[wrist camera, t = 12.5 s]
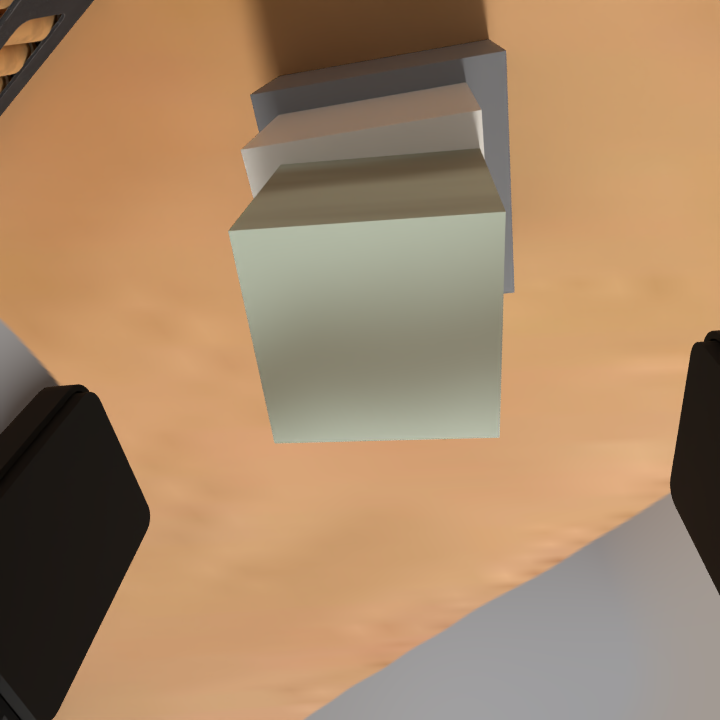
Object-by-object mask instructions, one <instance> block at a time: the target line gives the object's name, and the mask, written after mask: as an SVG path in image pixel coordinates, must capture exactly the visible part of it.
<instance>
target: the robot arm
mask: <svg viewBox="0 0 720 720" xmlns="http://www.w3.org/2000/svg"><path fill="white" fill-rule="evenodd" d="M670 489H671V495H672V499H673V501H674V504H675V506H676V509H677V511H678V513H679V514H680V517H681V519H682V520H683V523H684V525H685V526H686V529H687V531H688V533H689V535H690V536H691V539H692V541H693V543H694V545H695V547H696V548H697V550H698V553H699V555H700V557H701V559H702V561H703V563H704V564H705V566H706V569H707V571H708V573H709V575H710V577H711V579H712V581H713V583H714V585H715V587H716V589H717V591H718V593H719V595H720V330H718V331H711V332H709V333H708V334H707V335H706V337H705V339H704V342H696V343H695V344H694V345H693V347H692V350H691V355H690V361H689V367H688V374H687V380H686V386H685V392H684V398H683V404H682V411H681V417H680V423H679V429H678V435H677V441H676V448H675V454H674V460H673V466H672V472H671V479H670ZM149 522H150V511H149V507H148V504H147V502H146V500H145V498H144V496H143V493H142V491H141V489H140V487H139V485H138V482H137V480H136V478H135V476H134V474H133V471H132V469H131V467H130V465H129V463H128V460H127V458H126V456H125V454H124V452H123V449H122V447H121V445H120V443H119V441H118V438H117V436H116V434H115V432H114V430H113V427H112V425H111V423H110V421H109V419H108V416H107V414H106V412H105V410H104V408H103V406H102V403H101V401H100V399H99V398H98V396H97V395H96V394H95V393H92V392H89V390H88V389H87V388H86V387H84V386H83V385H79V384H78V385H66V386H54V387H47V388H44V389H43V390H41V391H40V392H39V393H38V394H37V395H36V396H35V397H34V398H33V400H32V401H31V402H30V403H29V404H28V405H27V406H26V407H25V408H24V409H23V411H21V413H20V414H19V415H18V416H17V417H16V418H15V419H14V420H13V421H12V422H11V423H10V425H9V426H8V427H7V428H6V429H5V430H4V431H3V432H2V433H1V434H0V720H52V719H53V718H54V717H55V715H56V714H57V712H58V710H59V708H60V706H61V704H62V702H63V700H64V698H65V696H66V694H67V692H68V690H69V688H70V686H71V684H72V682H73V680H74V678H75V676H76V674H77V672H78V670H79V668H80V666H81V664H82V662H83V660H84V658H85V656H86V653H87V651H88V649H89V647H90V645H91V643H92V641H93V639H94V637H95V635H96V633H97V631H98V629H99V627H100V625H101V623H102V621H103V619H104V617H105V615H106V613H107V611H108V609H109V607H110V605H111V603H112V601H113V599H114V596H115V594H116V592H117V590H118V588H119V586H120V584H121V582H122V580H123V578H124V576H125V574H126V572H127V570H128V568H129V566H130V564H131V562H132V560H133V558H134V556H135V554H136V552H137V550H138V548H139V546H140V544H141V542H142V540H143V537H144V535H145V533H146V531H147V529H148V526H149Z"/></svg>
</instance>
